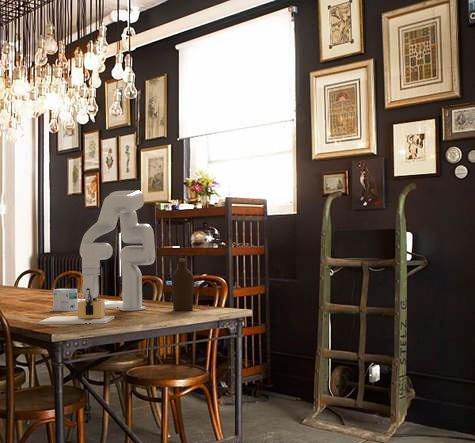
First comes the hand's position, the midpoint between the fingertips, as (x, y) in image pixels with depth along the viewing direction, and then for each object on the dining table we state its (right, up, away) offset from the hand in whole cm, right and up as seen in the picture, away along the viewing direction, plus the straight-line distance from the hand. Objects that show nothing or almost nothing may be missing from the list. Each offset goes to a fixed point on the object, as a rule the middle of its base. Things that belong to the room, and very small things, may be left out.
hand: (91, 313), depth 276 cm
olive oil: (+37, -4, +35) cm, 51 cm away
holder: (-16, -6, +69) cm, 71 cm away
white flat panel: (-6, -3, 0) cm, 7 cm away
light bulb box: (-23, -5, +44) cm, 50 cm away
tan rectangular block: (0, -2, 0) cm, 2 cm away
